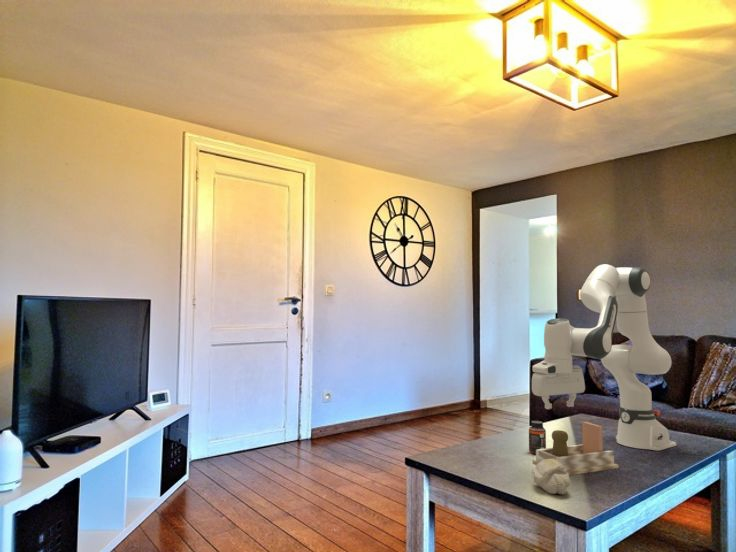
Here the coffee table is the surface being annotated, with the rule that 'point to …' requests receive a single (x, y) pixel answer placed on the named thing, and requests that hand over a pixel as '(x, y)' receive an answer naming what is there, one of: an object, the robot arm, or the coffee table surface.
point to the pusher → (592, 438)
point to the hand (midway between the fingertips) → (559, 407)
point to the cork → (560, 443)
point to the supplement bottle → (537, 437)
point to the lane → (579, 459)
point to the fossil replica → (551, 476)
